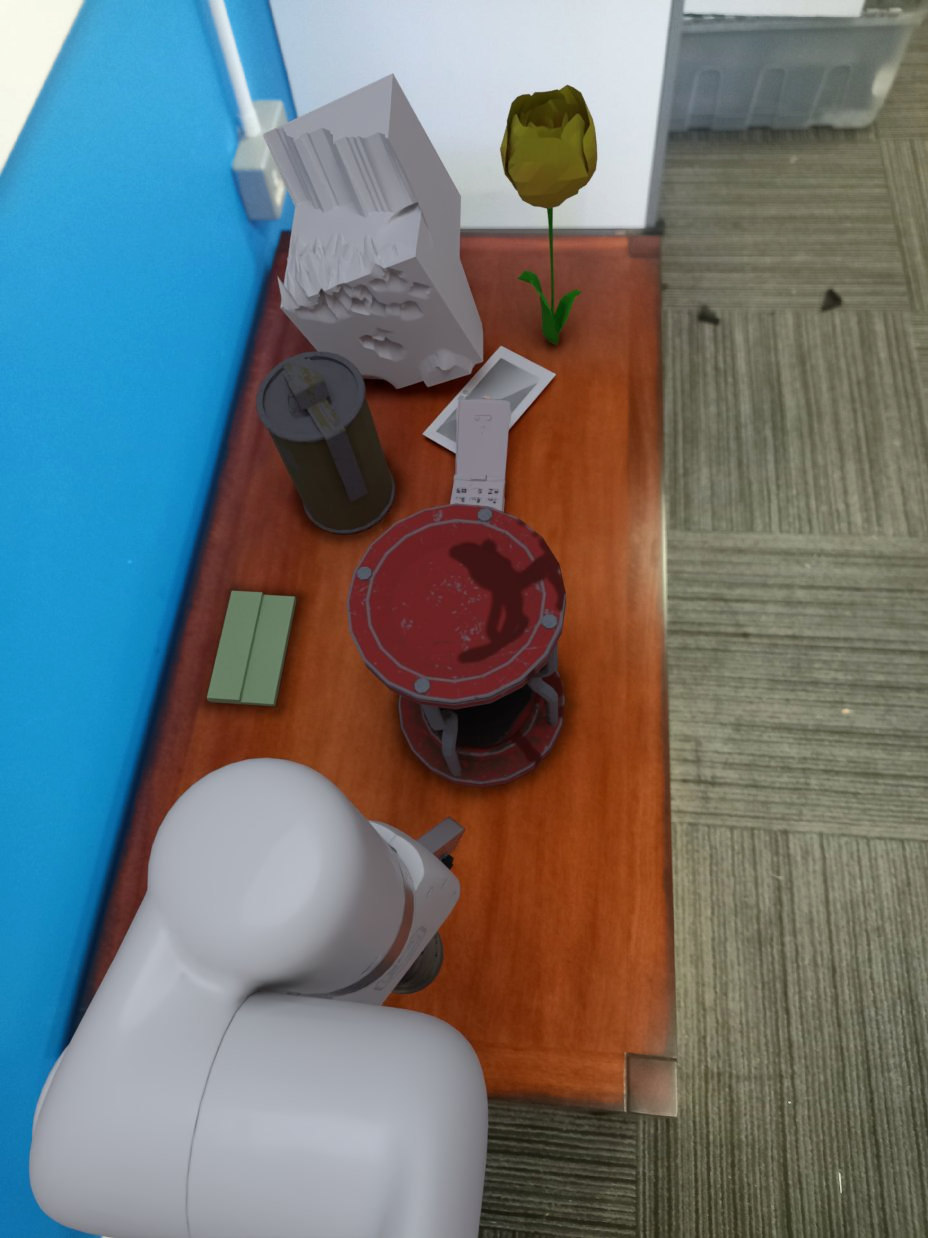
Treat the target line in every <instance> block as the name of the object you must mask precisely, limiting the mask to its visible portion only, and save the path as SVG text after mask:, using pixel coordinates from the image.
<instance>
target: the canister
mask: <svg viewBox="0 0 928 1238" xmlns="http://www.w3.org/2000/svg"><path fill="white" fill-rule="evenodd" d="M255 408H256V412H257V417H258V419H259V420H260V422H261V424H262V425H263V426H264V428H265V429H266V430H267V431H268V433H269V436H270V438H271V440H272V442H273V444H274V445H275V448H276V450H277V452H278V454H279V456H280V458H281V460H282V462H283V464H284V466H285V468H286V470H287V472H288V474H289V476H290V479H291V480H292V483H293V485H294V487H295V489H296V491H297V493H298V494H299V497H300V499H301V502H302V505H303V509H304V511H305V513H306V516H307V517H308V518H309V520H310V521H311V522H312V523H313V524H314V525H315V526H317V527H318V528H320V529H322V530H324V531H326V532H330V533H333V534H338V535H339V534H340V535H348V534H349V535H350V534H356V533H359V532H362V531H363V532H364V531H365V530H367V529H369V528H371V527H373V526H374V525H376V524H378V522H380V521H381V520H382V519H383V518H384V517H385V515H387V513H388V512H389V510H390V508H391V507H392V506H393V504H394V503H393V502H394V500H395V495H396V485H395V480H394V479H395V478H394V475H393V474H392V471H391V470H390V469H389V467H388V463H387V460H386V457H385V454H384V450H383V447H382V444H381V440H380V438H379V434H378V430H377V427H376V423H375V422H374V421H375V420H374V418H373V415H372V412H371V408H370V405H369V402H368V399H367V395H366V384H365V379H363V377H362V375H361V373H360V371H359V370H358V368H357V367H356V366H355V365H354V364H353V363H352V362H350V361H349V360H348V359H346V358H344V357H342V356H340V355H338V354H334V353H330V352H321V351H317V350H315V351H307V352H302V353H299V354H295V355H293V356H291V357H288V358H286V359H284V360H282V361H280V362H279V363H278V364H276V365H275V366H274V367H272V369H271V370H270V371H269V372H268V373H267V374H266V375H265V377H264V378H263V379H262V381H261V383H260V385H259V387H258V389H257V392H256V396H255Z"/></svg>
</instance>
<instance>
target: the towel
mask: <svg viewBox="0 0 928 1238" xmlns="http://www.w3.org/2000/svg"><path fill="white" fill-rule="evenodd" d="M297 600H298V599H297V598H296V596H293V595H273V594H264V593H263V592H262V591H247V590H246V591H245V590H231V592H230V596H229V600H228V604H227V609H226V613H225V617H224V621H223V625H222V630H221V635H220V639H219V643H218V648H217V652H216V657H215V660H214V665H213V669H212V674H211V677H210V681H209V687H208V691H207V694H206V699H207V701H208V702H209V703H216V704H217V703H218V704H230V705H231V704H233V705H247V706H262V707H277V702H278V697H279V696H278V695H279V691H280V686H281V681H282V677H283V676H282V675H283V671H284V667H285V661H286V656H287V651H288V646H289V642H290V641H289V640H290V635H291V631H292V626H293V620H294V615H295V611H296V605H297Z"/></svg>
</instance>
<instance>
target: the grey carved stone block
mask: <svg viewBox="0 0 928 1238" xmlns="http://www.w3.org/2000/svg"><path fill="white" fill-rule="evenodd" d="M262 136H263V139H264V141H265V143H266V146H267V148H268V151H269V152H270V154H271V155H270V156H271V157H272V159H273V161H274V163H275V165H276V168H277V170H278V172H279V175H280V176H281V179H282V181H283V183H284V185H285V188H286V190H287V192H288V195H289V196H290V200H291V201H292V203H293V206H294V211H293V212H294V213H293V219H292V225H291V231H290V240H289V247H288V255H287V257H286V261H287V263H286V268H285V273H284V278H283V279H284V280H283V282H282V280H281V279H280V277H279V276H278V275H277V281H278V287H279V292H280V299H281V300H280V307H279V309H280V310H281V311H282V312H284V314H285V316H287V318H288V319H289V320H290V321H291V322H292V324H293V325H294V326H295V327H296V328H297V329H298V330H299V332H300V333H301V334H302V335H303V336H304V337H305V339H306V340H307V341H308V342H309V343H310V345H312V347H313V348H314V349H315V351H321V352H330V353H334V354H338V355H340V356H342V357H344V358H346V359H348V360H349V361H350V362H352V363H353V364H354V365H355V366H356V367H357V368H358V370H359V371H360V373H361V375H362V377H363V380H365V379H366V380H380V381H381V380H384V381H386V382H387V383H389V384H391V385H392V386H393V387H394V388H395V389H396V390H398V389H403V388H405V387H409V386H412V385H415V384H418V383H422V382H424V384H425V386H426V387H427V388H430V387H433V386H437V385H439V384H443V383H446V382H449V381H451V380H455V379H458V378H462V377H466V376H469V375H471V374H472V372H473V368H475V366H476V365H478V364H481V363H483V362H484V329H483V323H482V320H481V317H480V313H479V311H478V307H477V305H476V302H475V298H474V296H473V294H472V291H471V290H472V289H471V288H470V284H469V282H468V278H467V276H466V273H465V270H464V267H463V264H462V261H461V258H460V255H461V254H460V253H461V214H462V213H461V212H462V195H461V193H460V192H459V190H458V187H457V186H456V185H455V182H454V181H453V179H452V177H451V175H450V173H449V171H448V170H447V168H446V166H445V164H444V163H443V161H442V159H441V157H440V156H439V154H438V152H437V150H436V148H435V146H434V145H433V142H432V141H431V139H430V138H429V136H428V133H427V132H426V130H425V128H424V127H423V125H422V123H421V121H420V120H419V118H418V115H417V114H416V111H414V108H413V106H412V105H411V103H410V101H409V99H408V97H407V95H406V94H405V92H404V90H403V89H402V87H401V85H400V83H399V81H398V79H397V78H396V76H395V74H394V73H390V74H387V75H386V76H384V77H381V78H379V79H377V80H375V81H373V82H371V83H368V84H367V85H365V86H362V87H359V88H358V89H356V90H354V91H351V92H350V93H347V94H346V95H343V96H342V97H339V98H337V99H334V100H332V101H331V102H328V103H326V104H323V105H321V106H320V107H318V108H315V109H313V110H310V111H309V112H307V113H305V114H303V115H301V116H299V117H296V118H294V119H293V120H290V121H288V122H286V123H284V124H283V123H282V124H281V125H279V126H277V127H275V128H272V129H271V130H269V131H266V132H265V133H263V135H262Z"/></svg>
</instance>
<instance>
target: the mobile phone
mask: <svg viewBox="0 0 928 1238" xmlns="http://www.w3.org/2000/svg"><path fill="white" fill-rule="evenodd" d="M509 412H510V415H509ZM456 421H457V434H456V453H455V466H456V472H455V474H454V475H453V485H452V491H451V496H450V502H449V504H455V503H459V504H470V505H481V506H490V507H492V508H495V509H497V510H500V511H502V512H505V503H506V499H505V492H506V470H507V457H508V443H509V431H510V429H509V422H510V421H511V410H510V401H508V400H498V399H463V400H459V401H458V408H457V409H456Z"/></svg>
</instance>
